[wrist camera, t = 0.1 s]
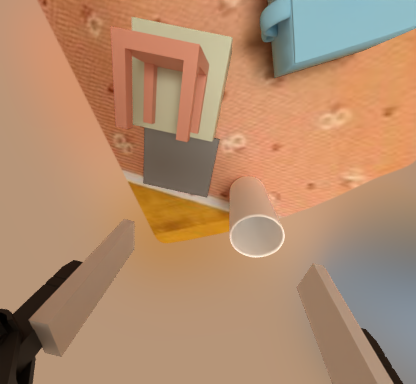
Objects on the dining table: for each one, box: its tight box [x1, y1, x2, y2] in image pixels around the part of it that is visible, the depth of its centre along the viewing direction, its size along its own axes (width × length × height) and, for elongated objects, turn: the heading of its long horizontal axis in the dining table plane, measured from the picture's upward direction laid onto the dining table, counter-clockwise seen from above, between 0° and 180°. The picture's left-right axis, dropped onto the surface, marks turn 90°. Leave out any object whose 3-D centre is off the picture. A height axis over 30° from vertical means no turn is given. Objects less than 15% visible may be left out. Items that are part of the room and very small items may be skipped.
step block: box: [132, 17, 232, 142], centre depth 30 cm, size 14×14×7 cm
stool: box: [110, 26, 209, 142], centre depth 23 cm, size 10×9×9 cm
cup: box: [230, 176, 285, 257], centre depth 34 cm, size 8×8×16 cm
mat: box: [143, 127, 219, 197], centre depth 39 cm, size 14×16×1 cm
